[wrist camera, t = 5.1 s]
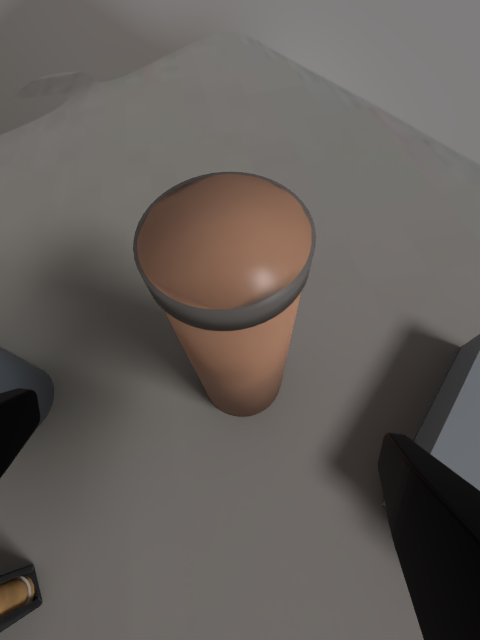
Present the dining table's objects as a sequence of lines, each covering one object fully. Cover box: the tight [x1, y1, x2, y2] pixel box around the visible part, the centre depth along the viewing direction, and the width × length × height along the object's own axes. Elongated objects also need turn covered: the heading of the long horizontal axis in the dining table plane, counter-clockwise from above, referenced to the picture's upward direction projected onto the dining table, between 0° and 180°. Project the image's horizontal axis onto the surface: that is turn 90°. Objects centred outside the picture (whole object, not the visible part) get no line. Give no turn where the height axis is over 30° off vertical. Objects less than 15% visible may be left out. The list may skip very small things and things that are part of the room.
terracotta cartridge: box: [133, 172, 316, 417], centre depth 15 cm, size 5×5×13 cm
